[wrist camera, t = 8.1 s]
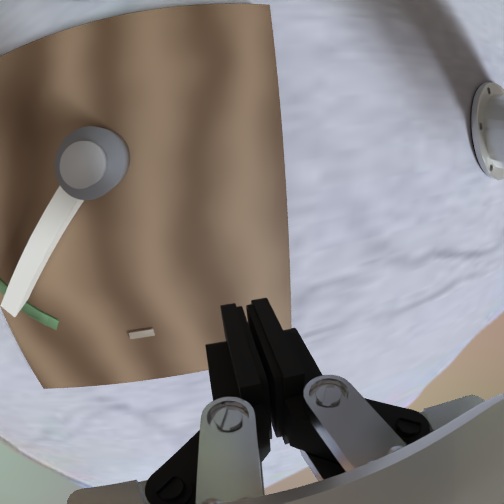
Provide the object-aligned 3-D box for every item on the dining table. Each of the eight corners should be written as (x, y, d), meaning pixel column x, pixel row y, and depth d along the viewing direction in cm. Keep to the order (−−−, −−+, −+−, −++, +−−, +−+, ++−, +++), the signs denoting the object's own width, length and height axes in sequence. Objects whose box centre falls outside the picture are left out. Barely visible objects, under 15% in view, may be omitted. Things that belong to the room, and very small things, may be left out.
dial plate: (263, 12, 17) (270, 3, 15) (285, 341, 27) (292, 352, 26) (-31, 80, 12) (-41, 78, 10) (47, 378, 22) (43, 389, 21)
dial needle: (143, 153, 17) (134, 156, 13) (41, 308, 19) (21, 341, 15) (97, 116, 16) (77, 109, 12) (3, 278, 17) (-23, 305, 13)
